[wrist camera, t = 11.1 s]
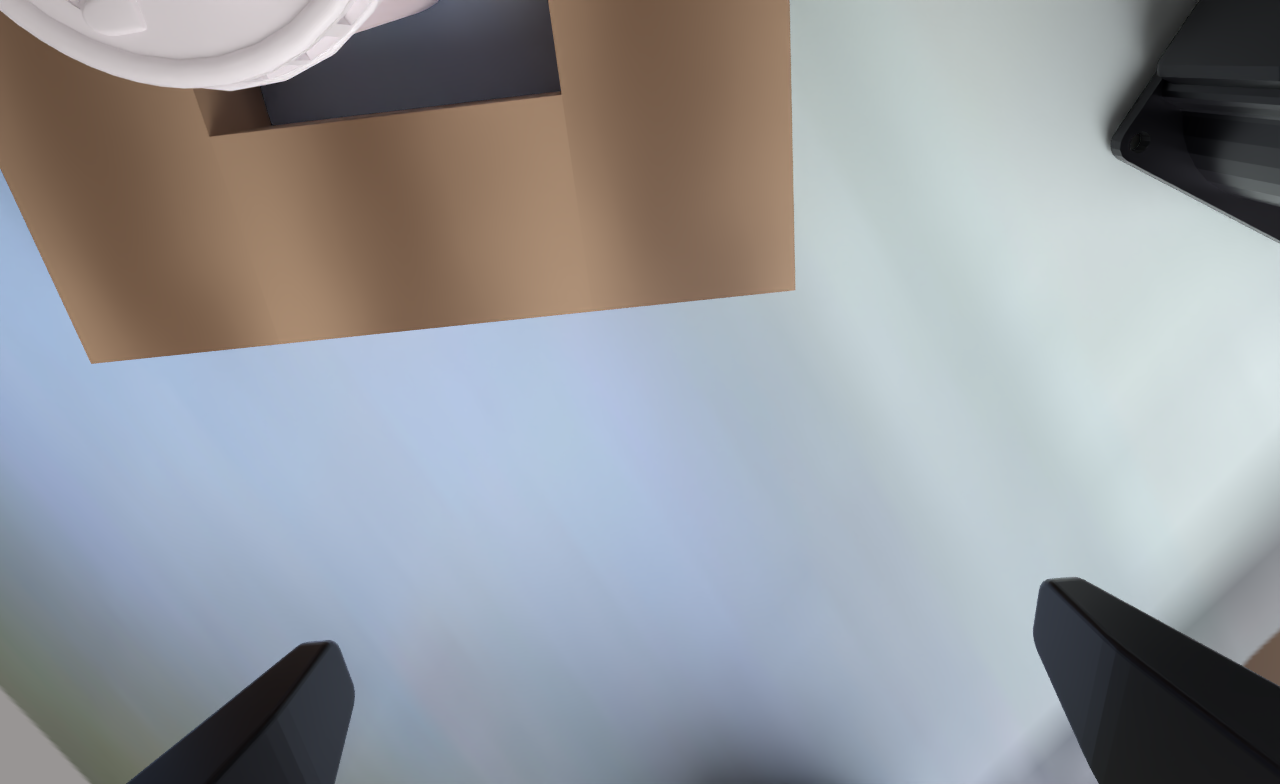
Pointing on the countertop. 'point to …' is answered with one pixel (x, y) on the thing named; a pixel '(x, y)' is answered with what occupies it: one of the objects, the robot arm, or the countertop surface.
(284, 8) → the smoothie
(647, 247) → the hole board
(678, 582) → the countertop surface
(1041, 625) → the robot arm
